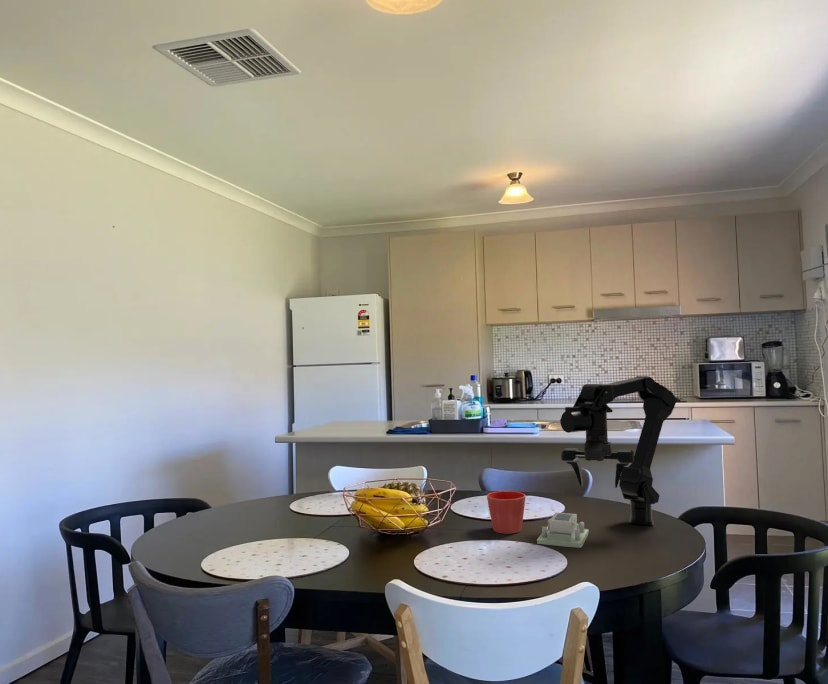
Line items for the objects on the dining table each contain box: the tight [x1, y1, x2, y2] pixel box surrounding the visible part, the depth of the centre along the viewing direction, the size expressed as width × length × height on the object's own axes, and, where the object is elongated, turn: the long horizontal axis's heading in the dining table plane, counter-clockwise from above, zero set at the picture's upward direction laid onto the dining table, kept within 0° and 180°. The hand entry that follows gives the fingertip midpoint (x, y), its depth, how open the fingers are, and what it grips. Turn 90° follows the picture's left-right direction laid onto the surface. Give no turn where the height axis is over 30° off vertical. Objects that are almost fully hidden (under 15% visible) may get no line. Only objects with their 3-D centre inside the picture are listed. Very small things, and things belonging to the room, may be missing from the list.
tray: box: [536, 518, 590, 549], centre depth 163 cm, size 14×11×4 cm
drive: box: [548, 512, 578, 539], centre depth 163 cm, size 9×6×5 cm, turn 157°
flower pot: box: [486, 490, 526, 535], centre depth 172 cm, size 11×11×10 cm
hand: (598, 486), depth 170 cm, fingers open, 9 cm apart
